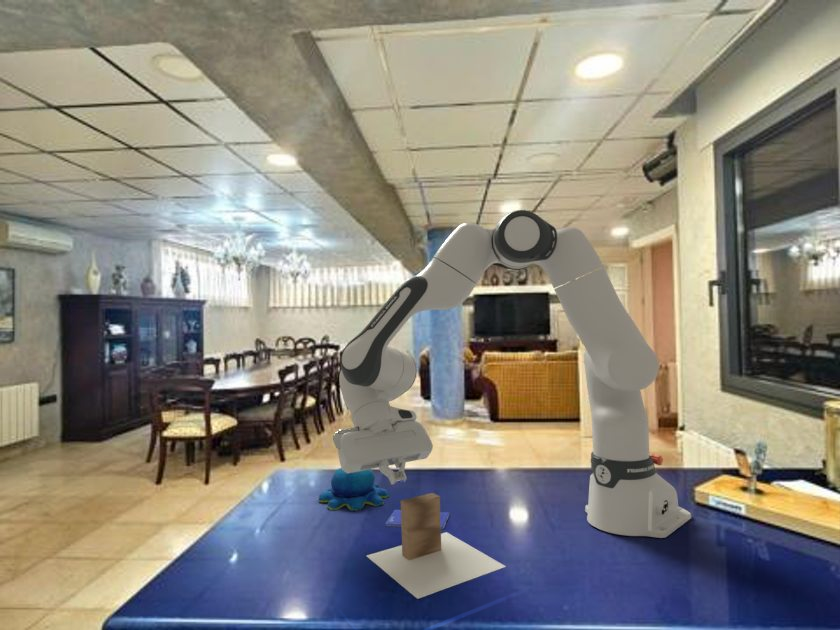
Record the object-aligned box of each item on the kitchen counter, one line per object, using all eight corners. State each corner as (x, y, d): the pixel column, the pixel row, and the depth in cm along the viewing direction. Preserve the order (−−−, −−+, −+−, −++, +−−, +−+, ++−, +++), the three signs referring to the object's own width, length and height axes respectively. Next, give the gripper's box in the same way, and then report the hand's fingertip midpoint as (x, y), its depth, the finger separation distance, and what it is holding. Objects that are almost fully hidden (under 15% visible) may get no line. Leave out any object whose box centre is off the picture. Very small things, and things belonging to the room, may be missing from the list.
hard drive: (385, 522, 108) (443, 526, 106) (395, 508, 116) (449, 511, 114) (385, 530, 108) (443, 533, 106) (395, 515, 116) (449, 518, 114)
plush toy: (309, 511, 120) (308, 475, 120) (332, 487, 137) (331, 456, 137) (378, 512, 118) (377, 476, 118) (393, 489, 134) (392, 457, 135)
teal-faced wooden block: (433, 545, 98) (431, 492, 98) (441, 550, 96) (439, 496, 96) (401, 554, 94) (400, 500, 95) (409, 560, 92) (407, 504, 92)
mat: (446, 534, 104) (446, 532, 104) (506, 568, 89) (506, 566, 89) (366, 557, 95) (366, 555, 95) (417, 601, 79) (417, 598, 79)
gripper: (334, 422, 103) (355, 483, 95) (420, 410, 114) (447, 464, 105) (326, 440, 107) (346, 500, 98) (411, 427, 118) (435, 480, 109)
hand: (399, 481), depth 102 cm, fingers closed
